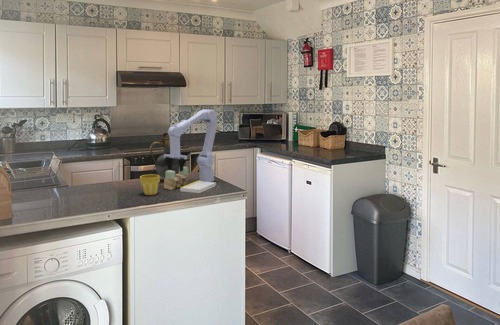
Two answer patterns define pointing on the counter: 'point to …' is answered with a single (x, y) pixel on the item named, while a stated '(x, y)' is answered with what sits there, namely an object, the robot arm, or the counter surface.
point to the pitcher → (160, 162)
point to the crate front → (170, 174)
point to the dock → (197, 187)
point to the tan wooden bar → (176, 181)
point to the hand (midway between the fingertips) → (175, 170)
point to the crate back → (184, 171)
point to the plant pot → (150, 183)
